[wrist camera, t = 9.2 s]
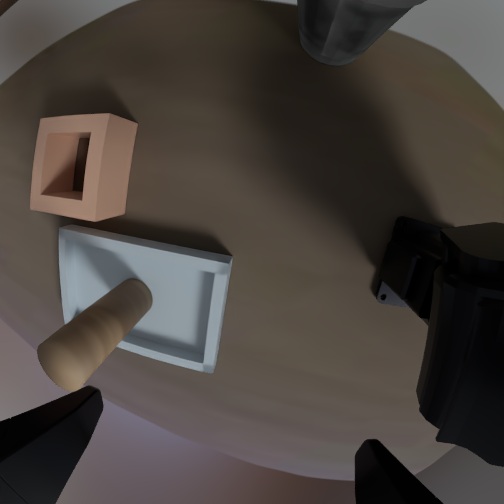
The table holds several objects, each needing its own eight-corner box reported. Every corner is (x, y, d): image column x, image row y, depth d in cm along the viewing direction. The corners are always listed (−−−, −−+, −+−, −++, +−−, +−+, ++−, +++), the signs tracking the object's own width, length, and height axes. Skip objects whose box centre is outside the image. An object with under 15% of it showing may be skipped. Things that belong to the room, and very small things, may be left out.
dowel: (153, 283, 20) (74, 356, 10) (152, 318, 21) (84, 400, 11) (119, 274, 20) (32, 334, 10) (119, 308, 21) (44, 378, 11)
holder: (137, 123, 18) (109, 113, 14) (124, 213, 19) (95, 221, 15) (71, 124, 18) (40, 118, 14) (61, 203, 20) (30, 209, 16)
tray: (233, 256, 19) (229, 263, 18) (216, 360, 22) (212, 373, 20) (72, 224, 20) (58, 227, 18) (75, 318, 22) (65, 326, 20)
